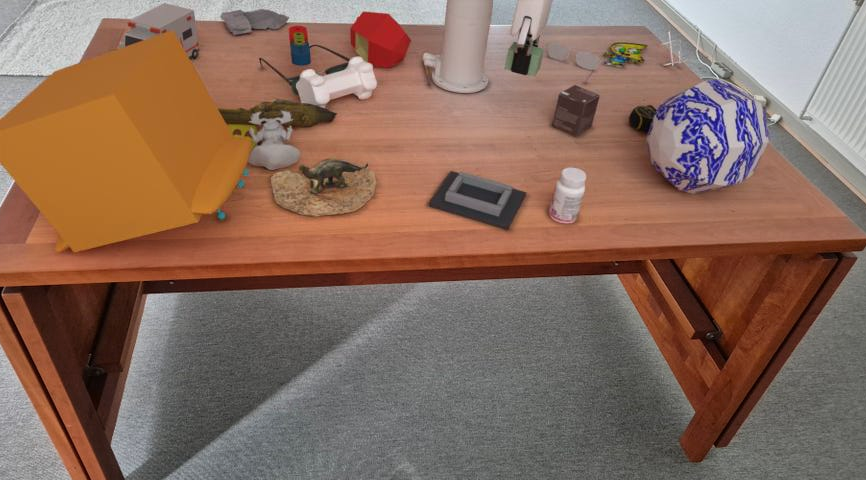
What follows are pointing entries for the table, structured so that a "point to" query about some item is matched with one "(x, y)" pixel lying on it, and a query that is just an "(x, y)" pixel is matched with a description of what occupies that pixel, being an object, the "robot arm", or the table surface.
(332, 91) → the dog bone
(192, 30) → the toy vehicle
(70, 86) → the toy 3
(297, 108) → the olive long flat piece
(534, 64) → the green rectangular block
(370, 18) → the red angular block
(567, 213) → the pill bottle
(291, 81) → the sunglasses
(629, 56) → the toy
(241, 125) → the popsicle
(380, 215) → the table surface
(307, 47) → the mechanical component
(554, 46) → the eyeglasses
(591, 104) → the box
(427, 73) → the pen
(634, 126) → the tape measure
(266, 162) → the figurine
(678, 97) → the ornament
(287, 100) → the circuit board
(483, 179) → the base
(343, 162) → the dinosaur figurine
